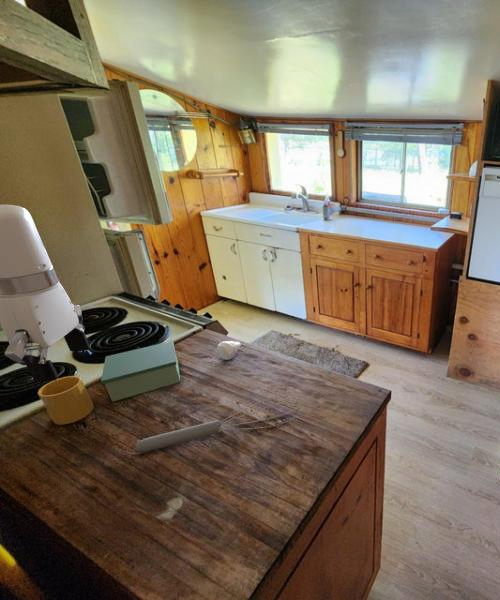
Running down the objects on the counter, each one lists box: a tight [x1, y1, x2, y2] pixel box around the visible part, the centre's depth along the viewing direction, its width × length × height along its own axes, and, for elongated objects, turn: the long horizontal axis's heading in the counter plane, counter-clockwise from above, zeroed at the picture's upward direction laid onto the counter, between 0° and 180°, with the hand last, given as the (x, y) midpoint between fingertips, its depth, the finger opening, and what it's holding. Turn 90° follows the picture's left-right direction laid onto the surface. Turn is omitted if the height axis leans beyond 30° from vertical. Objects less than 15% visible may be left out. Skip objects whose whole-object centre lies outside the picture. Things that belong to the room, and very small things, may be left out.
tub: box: [100, 340, 181, 402], centre depth 84 cm, size 15×12×7 cm
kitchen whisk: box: [125, 395, 301, 455], centre depth 70 cm, size 6×34×6 cm, turn 111°
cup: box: [37, 375, 94, 426], centre depth 73 cm, size 7×7×8 cm
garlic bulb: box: [216, 340, 242, 361], centre depth 96 cm, size 6×6×5 cm
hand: (65, 364), depth 62 cm, fingers open, 9 cm apart
